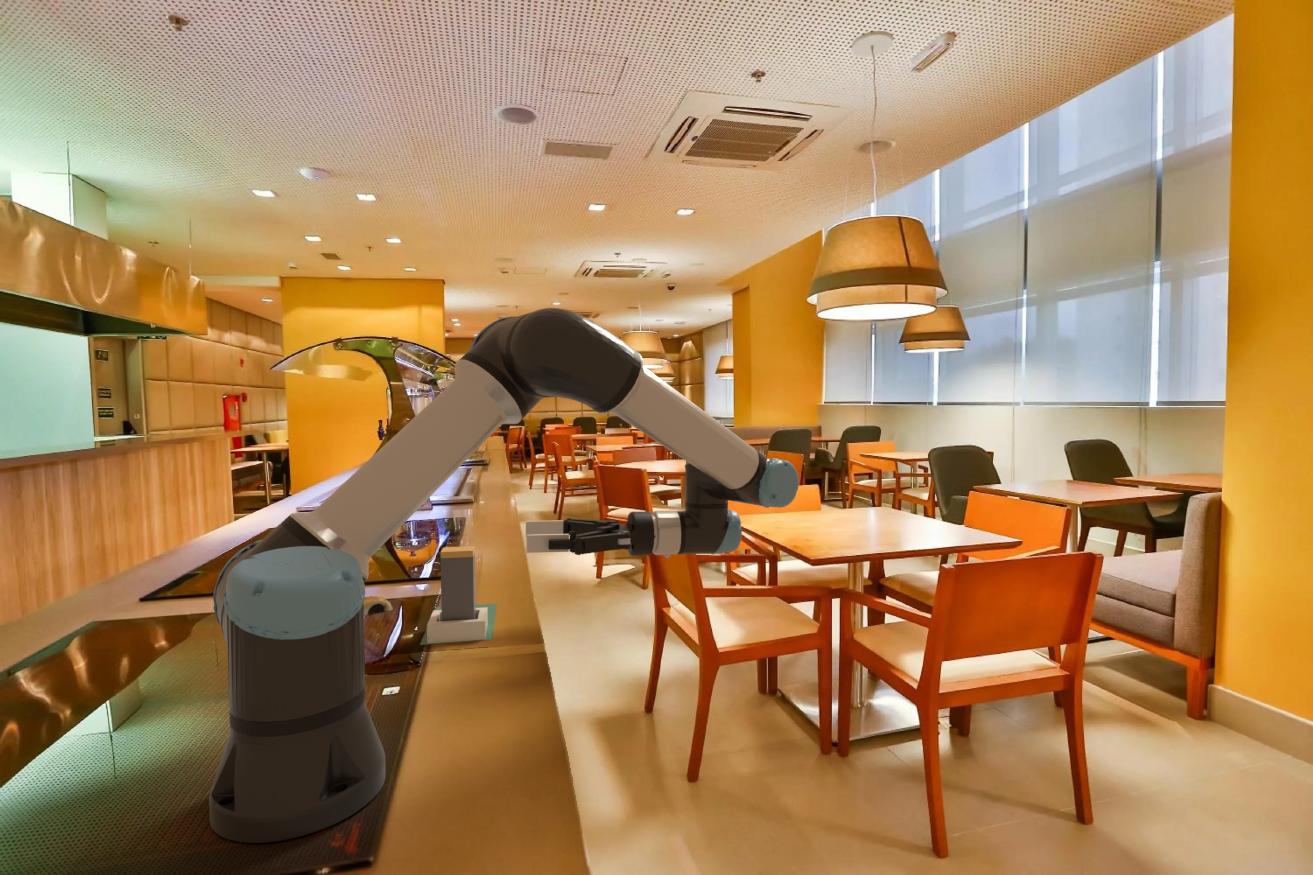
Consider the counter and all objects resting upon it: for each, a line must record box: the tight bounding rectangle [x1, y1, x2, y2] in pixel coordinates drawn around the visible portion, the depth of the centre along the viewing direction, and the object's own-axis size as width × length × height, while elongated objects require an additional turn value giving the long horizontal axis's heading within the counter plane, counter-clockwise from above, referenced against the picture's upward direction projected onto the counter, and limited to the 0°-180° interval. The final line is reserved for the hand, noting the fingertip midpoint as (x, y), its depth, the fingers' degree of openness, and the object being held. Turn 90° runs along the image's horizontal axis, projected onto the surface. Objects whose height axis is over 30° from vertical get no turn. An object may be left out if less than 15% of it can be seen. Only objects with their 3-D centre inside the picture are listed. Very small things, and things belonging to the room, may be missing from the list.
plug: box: [440, 545, 477, 621], centre depth 106 cm, size 4×5×14 cm
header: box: [426, 607, 488, 645], centre depth 106 cm, size 7×9×3 cm
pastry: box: [364, 595, 394, 617], centre depth 120 cm, size 9×7×4 cm
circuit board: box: [419, 602, 498, 653], centre depth 112 cm, size 20×11×1 cm, turn 12°
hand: (525, 535), depth 107 cm, fingers open, 13 cm apart
